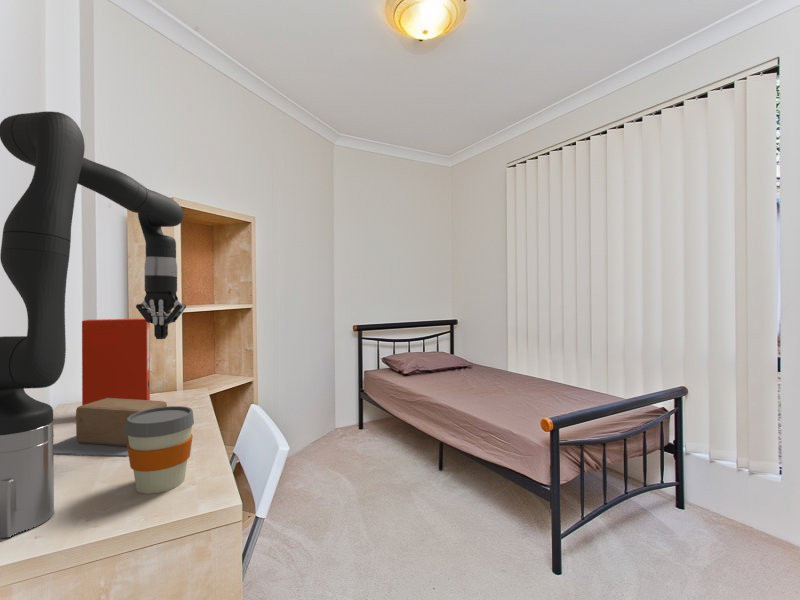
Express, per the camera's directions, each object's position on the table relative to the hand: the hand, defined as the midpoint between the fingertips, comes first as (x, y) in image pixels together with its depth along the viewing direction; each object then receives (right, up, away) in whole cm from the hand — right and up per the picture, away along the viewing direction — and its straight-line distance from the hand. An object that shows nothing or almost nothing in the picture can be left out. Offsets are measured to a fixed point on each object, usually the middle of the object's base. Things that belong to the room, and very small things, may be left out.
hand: (161, 338), depth 105 cm
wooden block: (-2, -23, +1) cm, 23 cm away
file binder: (-30, -28, +26) cm, 49 cm away
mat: (-16, -29, +1) cm, 33 cm away
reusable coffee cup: (+13, -29, -21) cm, 38 cm away
